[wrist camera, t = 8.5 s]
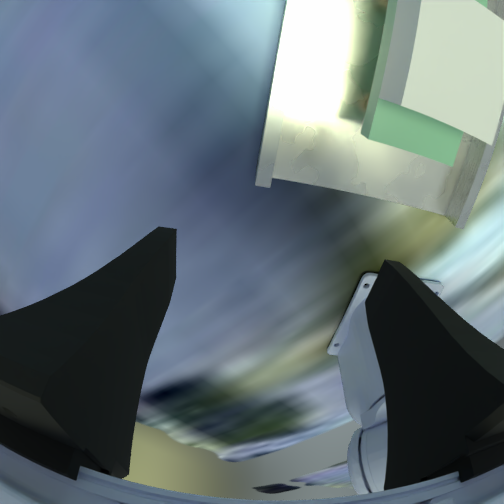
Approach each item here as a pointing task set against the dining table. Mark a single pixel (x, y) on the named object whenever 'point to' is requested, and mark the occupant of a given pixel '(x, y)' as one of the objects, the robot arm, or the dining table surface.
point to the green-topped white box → (437, 77)
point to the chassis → (352, 115)
